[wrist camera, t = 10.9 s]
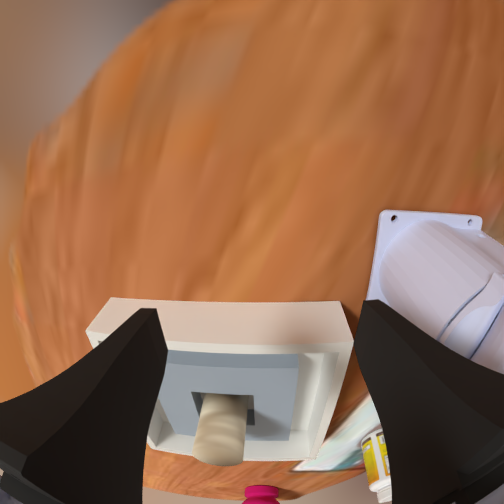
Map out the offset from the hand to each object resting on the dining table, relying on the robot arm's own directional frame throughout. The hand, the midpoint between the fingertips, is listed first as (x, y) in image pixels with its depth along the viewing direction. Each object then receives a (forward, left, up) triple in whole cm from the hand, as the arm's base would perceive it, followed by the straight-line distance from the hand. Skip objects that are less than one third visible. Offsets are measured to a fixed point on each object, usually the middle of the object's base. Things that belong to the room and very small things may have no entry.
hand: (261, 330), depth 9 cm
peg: (+3, +15, -9) cm, 18 cm away
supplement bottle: (-15, +28, -10) cm, 34 cm away
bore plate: (+4, +15, -9) cm, 18 cm away
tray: (+3, +14, -9) cm, 17 cm away
